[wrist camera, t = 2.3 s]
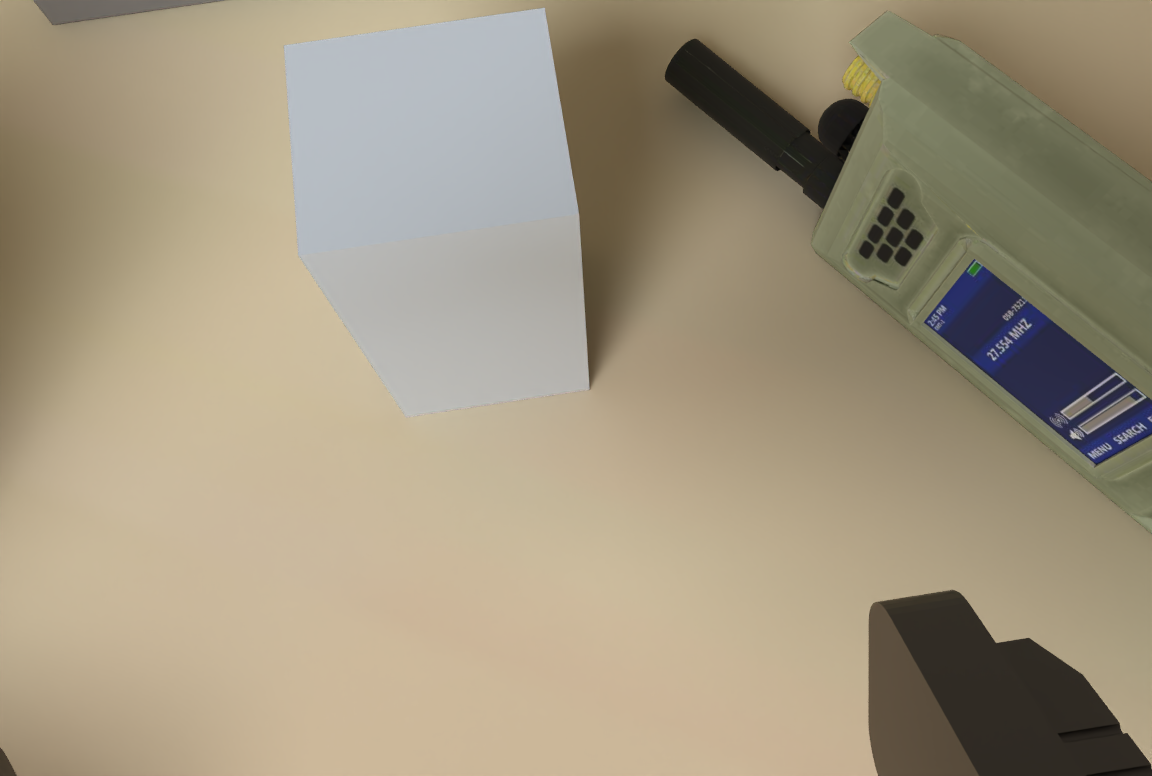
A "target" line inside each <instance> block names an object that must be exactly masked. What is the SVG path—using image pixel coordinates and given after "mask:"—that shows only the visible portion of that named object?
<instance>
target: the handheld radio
mask: <svg viewBox="0 0 1152 776" xmlns="http://www.w3.org/2000/svg"><path fill="white" fill-rule="evenodd" d="M849 43H850V44H851V45H852V47H853V48H854V49H855V51H856V52H857V54H858V56H857V58H856V59H855V60H854V61H853V62H852V63H851V65H850V66H849V67H848V69H847V70H846V72H845V74H844V76H843V79H842V82H843V83H844V88H845V89H846V90H851V89H852V94H853V95H854V96H855V97H858V96H861V98H860V99H861V101H862V102H863V103H867V102H868V103H869V107H870V108H868V107H866V106H865V105H864V104H862V103H861V102H859V101H857V100H853V99H843V100H839V101H837V102H835V103H833V104H832V105H831V106H830V107H828V108H827V109H826V110H825V112H824V113H823V115H822V117H821V118H820V121H819V125H818V134H819V138H820V140H821V142H822V143H820V142H819V141H818V140H817V139H815V138H814V137H813V136H812V135H810V130H809V129H808V128H806V127H805V126H804V125H803V124H801V123H800V122H799V121H798V120H796V119H795V118H794V117H793V116H791V115H790V114H789V113H788V112H786V111H785V110H784V109H783V108H782V107H780V106H779V105H778V104H777V103H775V102H774V101H773V100H772V99H770V98H769V97H768V96H767V95H765V94H764V93H763V92H762V91H760V90H759V89H758V88H757V87H756V86H754V85H753V84H752V83H751V82H749V81H748V80H747V79H746V78H744V77H743V76H742V75H741V74H739V73H738V72H737V71H736V70H734V69H733V68H732V67H731V66H729V65H728V64H727V63H726V62H725V61H723V60H722V59H721V58H720V57H718V56H717V55H716V54H715V53H713V52H712V51H711V50H710V49H708V48H707V47H706V46H705V45H703V44H702V43H701V42H700V41H699V40H697V39H692V40H690V41H689V42H687V43H686V44H684V45H683V46H682V47H681V48H680V49H679V50H678V52H677V53H676V54H675V55H674V57H673V58H672V60H671V62H670V63H669V65H668V67H667V70H666V73H665V80H666V81H667V82H668V83H670V84H671V85H672V86H673V87H675V88H676V89H677V90H678V91H679V92H681V93H682V94H683V95H684V96H686V97H687V98H688V99H689V100H690V101H692V102H693V103H694V104H695V105H697V106H698V107H699V108H700V109H701V110H703V111H704V112H705V113H706V114H708V115H709V116H710V117H711V118H712V119H714V120H715V121H716V122H717V123H719V124H720V125H721V126H722V127H723V128H725V129H726V130H727V131H728V132H730V133H731V134H732V135H733V136H734V137H736V138H737V139H738V140H739V141H741V142H742V143H743V144H744V145H745V146H747V147H748V148H749V149H750V150H752V151H753V152H754V153H755V154H756V155H758V156H759V157H760V158H761V159H763V160H764V161H765V162H766V163H767V164H769V165H770V166H771V167H772V168H774V169H775V170H776V171H779V170H782V171H783V172H784V173H786V174H787V175H788V176H789V177H791V178H792V179H793V180H794V181H795V182H797V183H798V184H799V185H800V186H802V187H803V188H804V189H803V193H804V194H805V195H807V196H808V197H809V198H810V199H812V200H813V201H814V202H815V203H816V204H818V205H819V206H820V207H821V208H823V209H824V210H823V212H822V214H821V216H820V219H819V221H818V223H817V225H816V228H815V230H814V232H813V235H812V242H811V245H812V247H813V249H814V250H815V252H816V253H817V254H818V255H819V256H820V257H822V258H823V259H824V260H825V261H826V262H828V263H829V264H830V265H831V266H832V267H834V268H835V269H836V270H837V271H838V272H840V273H841V274H842V275H843V276H844V277H846V278H847V279H848V280H849V281H850V282H852V283H853V284H854V285H855V286H856V287H857V288H859V289H860V290H861V291H862V292H863V293H865V294H866V295H867V296H868V297H869V298H871V299H872V300H873V301H874V302H875V303H877V304H878V305H879V306H880V307H881V308H883V309H884V310H885V311H886V312H887V313H889V314H890V315H891V316H892V317H893V318H894V319H896V320H897V321H898V322H899V323H900V324H902V325H903V326H904V327H905V328H906V329H908V330H909V331H910V332H911V333H912V334H914V335H915V336H916V337H917V338H918V339H920V340H921V341H922V342H923V343H924V344H926V345H927V346H928V347H929V348H930V349H931V350H933V351H934V352H935V353H936V354H937V355H939V356H940V357H941V358H942V359H943V360H945V361H946V362H947V363H948V364H949V365H951V366H952V367H953V368H954V369H955V370H957V371H958V372H959V373H960V374H961V375H963V376H964V377H965V378H966V379H967V380H968V381H970V382H971V383H972V384H973V385H974V386H976V387H977V388H978V389H979V390H980V391H982V392H983V393H984V394H985V395H986V396H988V397H989V398H990V399H991V400H992V401H994V402H995V403H996V404H997V405H998V406H1000V407H1001V408H1002V409H1003V410H1004V411H1005V412H1007V413H1008V414H1009V415H1010V416H1011V417H1013V418H1014V419H1015V420H1016V421H1017V422H1019V423H1020V424H1021V425H1022V426H1023V427H1025V428H1026V429H1027V430H1028V431H1029V432H1031V433H1032V434H1033V435H1034V436H1035V437H1037V438H1038V439H1039V440H1040V441H1041V442H1042V443H1044V444H1045V445H1046V446H1047V447H1048V448H1050V449H1051V450H1052V451H1053V452H1054V453H1056V454H1057V455H1058V456H1059V457H1060V458H1062V459H1063V460H1064V461H1065V462H1066V463H1068V464H1069V465H1070V466H1071V467H1072V468H1074V469H1075V470H1076V471H1077V472H1078V473H1079V474H1081V475H1082V476H1083V477H1084V478H1085V479H1087V480H1088V481H1089V482H1090V483H1091V484H1093V485H1094V486H1095V487H1096V488H1097V489H1099V490H1100V491H1101V492H1102V493H1103V494H1105V495H1106V496H1107V497H1108V498H1109V499H1111V500H1112V501H1113V502H1114V503H1115V504H1116V505H1118V506H1119V507H1120V508H1121V509H1122V510H1124V511H1125V512H1126V513H1127V514H1128V515H1130V516H1131V517H1132V518H1133V519H1134V520H1136V521H1137V522H1138V523H1139V524H1140V525H1142V526H1143V527H1144V528H1145V529H1146V530H1148V531H1149V532H1150V533H1151V534H1152V182H1151V181H1150V180H1149V179H1147V178H1146V177H1144V176H1143V175H1142V174H1140V173H1139V172H1138V171H1136V170H1135V169H1134V168H1132V167H1131V166H1129V165H1128V164H1127V163H1125V162H1124V161H1123V160H1121V159H1120V158H1119V157H1117V156H1116V155H1114V154H1113V153H1112V152H1110V151H1109V150H1108V149H1106V148H1105V147H1104V146H1102V145H1101V144H1100V143H1098V142H1097V141H1095V140H1094V139H1093V138H1091V137H1090V136H1089V135H1087V134H1086V133H1085V132H1083V131H1082V130H1080V129H1079V128H1078V127H1076V126H1075V125H1074V124H1072V123H1071V122H1070V121H1068V120H1067V119H1065V118H1064V117H1063V116H1061V115H1060V114H1059V113H1057V112H1056V111H1055V110H1053V109H1052V108H1050V107H1049V106H1048V105H1046V104H1045V103H1044V102H1042V101H1041V100H1040V99H1038V98H1037V97H1036V96H1034V95H1033V94H1031V93H1030V92H1029V91H1027V90H1026V89H1025V88H1023V87H1022V86H1021V85H1019V84H1018V83H1016V82H1015V81H1014V80H1012V79H1011V78H1010V77H1008V76H1007V75H1006V74H1004V73H1003V72H1001V71H1000V70H999V69H997V68H996V67H995V66H993V65H992V64H991V63H989V62H988V61H986V60H985V59H984V58H982V57H981V56H980V55H978V54H977V53H976V52H974V51H973V50H972V49H970V48H969V47H967V46H966V45H965V44H963V43H962V42H961V41H959V40H955V39H952V38H949V37H945V36H942V35H939V34H937V35H934V36H931V35H929V34H928V33H926V32H924V31H923V30H921V29H919V28H917V27H916V26H914V25H912V24H911V23H909V22H907V21H906V20H904V19H902V18H901V17H899V16H897V15H895V14H893V13H892V12H890V11H886V12H885V13H884V14H883V15H881V16H880V17H879V18H877V19H876V20H875V21H874V22H873V23H871V24H870V25H869V26H868V27H867V28H865V29H864V30H863V31H862V32H861V33H859V34H858V35H857V36H856V37H855V38H853V39H852V40H851V41H850V42H849ZM848 151H849V152H848Z"/></svg>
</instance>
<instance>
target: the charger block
mask: <svg viewBox="0 0 1152 776" xmlns="http://www.w3.org/2000/svg"><path fill="white" fill-rule="evenodd" d="M284 53H285V68H286V83H287V97H288V112H289V126H290V141H291V156H292V170H293V185H294V199H295V214H296V228H297V243H298V256H299V257H300V259H301V260H302V262H303V263H304V265H305V266H306V268H307V269H308V271H309V272H310V274H311V275H312V277H313V278H314V280H315V281H316V283H317V284H318V286H319V287H320V289H321V290H322V292H323V293H324V295H325V296H326V298H327V299H328V301H329V302H330V304H331V305H332V307H333V308H334V310H335V311H336V313H337V314H338V316H339V317H340V319H341V320H342V322H343V323H344V325H345V326H346V328H347V329H348V331H349V332H350V334H351V335H352V337H353V338H354V340H355V341H356V343H357V344H358V346H359V347H360V349H361V350H362V352H363V353H364V355H365V356H366V358H367V359H368V361H369V362H370V364H371V366H372V367H373V369H374V370H375V372H376V373H377V375H378V376H379V378H380V379H381V381H382V382H383V384H384V385H385V387H386V388H387V390H388V391H389V393H390V394H391V396H392V397H393V399H394V400H395V402H396V403H397V405H398V406H399V408H400V409H401V411H402V412H403V414H404V415H405V417H412V416H419V415H425V414H432V413H438V412H445V411H452V410H458V409H465V408H472V407H478V406H485V405H491V404H498V403H505V402H511V401H518V400H525V399H531V398H538V397H544V396H551V395H558V394H564V393H571V392H577V391H584V390H590V388H589V372H588V355H587V338H586V322H585V305H584V288H583V271H582V255H581V238H580V221H579V211H578V205H577V199H576V193H575V187H574V181H573V175H572V169H571V163H570V157H569V151H568V145H567V139H566V133H565V127H564V121H563V115H562V109H561V103H560V97H559V91H558V85H557V79H556V73H555V67H554V61H553V55H552V49H551V43H550V37H549V31H548V25H547V19H546V13H545V8H539V9H532V10H526V11H519V12H512V13H505V14H498V15H491V16H484V17H477V18H470V19H463V20H456V21H450V22H443V23H436V24H429V25H422V26H415V27H408V28H401V29H394V30H387V31H380V32H374V33H367V34H360V35H353V36H346V37H339V38H332V39H325V40H318V41H311V42H304V43H298V44H291V45H284Z"/></svg>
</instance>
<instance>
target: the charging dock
mask: <svg viewBox="0 0 1152 776" xmlns="http://www.w3.org/2000/svg"><path fill="white" fill-rule="evenodd" d="M215 1H222V0H34V2H35V3H36V4H37V6H38V7H39V8H40V9H41V11H42V12H43V13H44V14H45V16H46V17H47V18H48V19H49V21H50V22H51V23H52V25H55V24H62V23H69V22H76V21H83V20H90V19H97V18H104V17H111V16H118V15H125V14H132V13H139V12H146V11H153V10H159V9H166V8H173V7H180V6H187V5H194V4H201V3H208V2H215Z"/></svg>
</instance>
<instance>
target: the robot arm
mask: <svg viewBox="0 0 1152 776" xmlns="http://www.w3.org/2000/svg"><path fill="white" fill-rule="evenodd" d="M869 735H870V742H871V748H872V753H873V758H874V762H875V766H876V770H877V773H878V776H1152V769H1151V764H1150V762H1149V761H1148V760H1147V758H1146V757H1145V756H1144V755H1143V753H1142V752H1141V751H1140V749H1139V748H1138V747H1137V745H1136V744H1135V743H1134V741H1133V740H1132V739H1131V737H1130V736H1129V735H1128V734H1127V733H1125V734H1123V733H1122V731H1121V729H1120V723H1119V722H1118V720H1117V719H1116V718H1115V716H1114V715H1113V714H1112V713H1111V711H1110V710H1109V709H1108V707H1107V706H1106V705H1105V703H1104V702H1103V701H1102V699H1101V698H1100V697H1099V695H1098V694H1097V693H1096V692H1095V690H1094V689H1093V688H1092V686H1091V685H1090V684H1089V682H1088V681H1087V680H1086V678H1085V677H1084V676H1083V675H1082V674H1081V673H1079V672H1078V671H1076V670H1075V669H1073V668H1072V667H1071V666H1069V665H1068V664H1066V663H1065V662H1063V661H1062V660H1060V659H1059V658H1057V657H1056V656H1054V655H1053V654H1052V653H1050V652H1049V651H1047V650H1046V649H1044V648H1043V647H1041V646H1040V645H1038V644H1037V643H1035V642H1034V641H1033V640H1031V639H1030V638H1026V639H1019V640H1013V641H1007V642H1001V643H996V642H995V641H994V640H993V638H992V637H991V635H990V634H989V632H988V631H987V629H986V628H985V626H984V625H983V623H982V622H981V620H980V619H979V617H978V616H977V615H976V613H975V612H974V610H973V609H972V607H971V606H970V604H969V603H968V601H967V600H966V599H965V598H964V596H963V595H961V594H960V593H959V592H957V591H955V590H950V591H943V592H937V593H931V594H924V595H918V596H912V597H905V598H899V599H893V600H886V601H880V602H875V603H873V605H872V606H871V609H870V614H869ZM0 776H17V775H16V774H15V772H14V770H13V768H12V766H11V764H10V762H9V760H8V758H7V756H6V755H5V753H4V752H3V750H2V749H1V748H0Z"/></svg>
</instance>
